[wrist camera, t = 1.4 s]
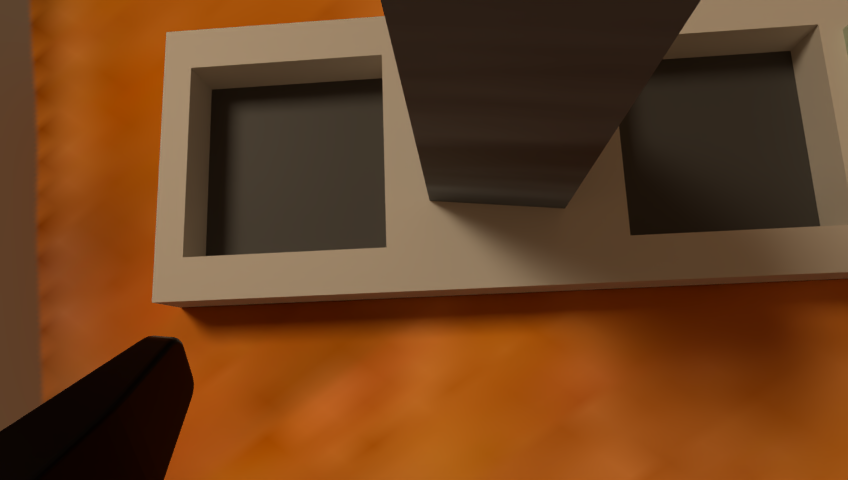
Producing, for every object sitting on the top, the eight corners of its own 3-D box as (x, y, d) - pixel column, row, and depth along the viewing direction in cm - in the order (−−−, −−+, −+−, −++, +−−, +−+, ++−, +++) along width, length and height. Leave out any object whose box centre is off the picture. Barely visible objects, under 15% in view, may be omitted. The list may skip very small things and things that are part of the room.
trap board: (1005, 1, 22) (1072, -43, 20) (1072, 268, 20) (1155, 256, 18) (190, 58, 24) (159, 24, 22) (180, 307, 22) (143, 301, 20)
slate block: (564, 208, 20) (708, -11, 8) (429, 200, 20) (376, -19, 8) (569, 81, 21) (703, -284, 9) (439, 76, 21) (403, -280, 9)
